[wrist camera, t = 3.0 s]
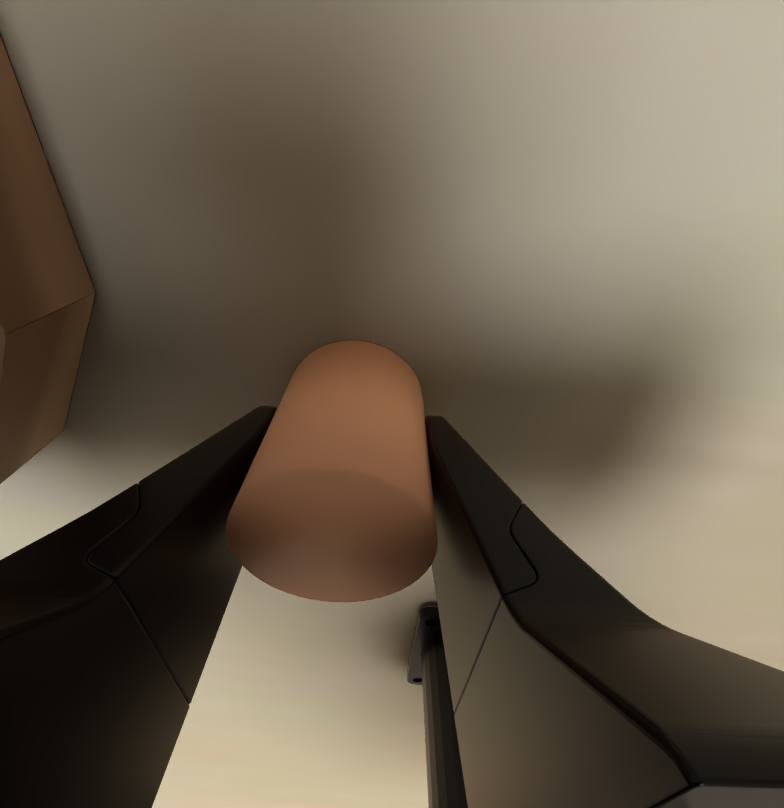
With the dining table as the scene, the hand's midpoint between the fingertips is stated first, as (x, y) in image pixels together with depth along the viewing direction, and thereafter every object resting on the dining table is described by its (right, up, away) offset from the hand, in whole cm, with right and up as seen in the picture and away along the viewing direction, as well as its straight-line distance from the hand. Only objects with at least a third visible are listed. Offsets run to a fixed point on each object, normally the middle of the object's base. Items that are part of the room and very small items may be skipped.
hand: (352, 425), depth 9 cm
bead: (0, +1, +1) cm, 1 cm away
